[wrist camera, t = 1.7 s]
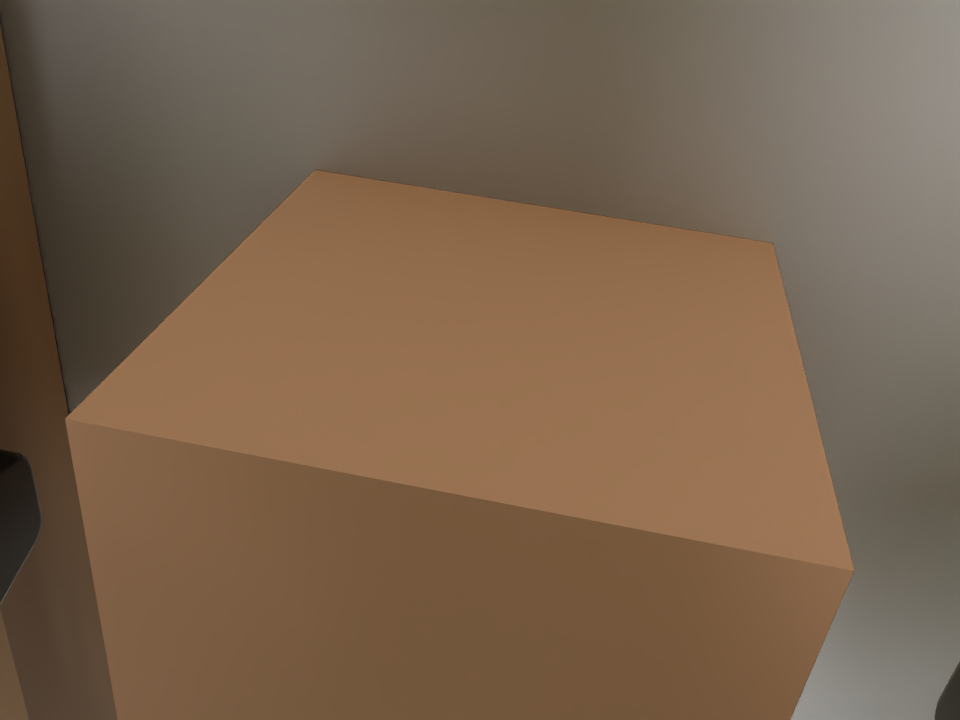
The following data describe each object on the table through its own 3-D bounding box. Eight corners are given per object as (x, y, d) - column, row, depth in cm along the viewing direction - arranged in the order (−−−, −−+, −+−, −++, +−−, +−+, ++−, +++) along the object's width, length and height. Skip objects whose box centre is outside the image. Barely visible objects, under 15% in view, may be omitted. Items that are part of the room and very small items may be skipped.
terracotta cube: (772, 240, 10) (853, 571, 5) (673, 580, 12) (676, 982, 8) (317, 167, 10) (65, 418, 6) (316, 509, 13) (140, 853, 8)
